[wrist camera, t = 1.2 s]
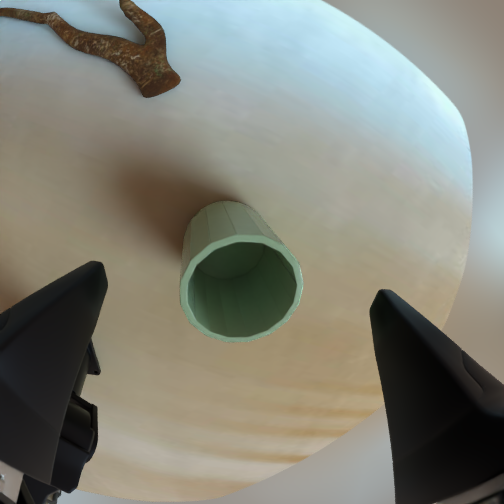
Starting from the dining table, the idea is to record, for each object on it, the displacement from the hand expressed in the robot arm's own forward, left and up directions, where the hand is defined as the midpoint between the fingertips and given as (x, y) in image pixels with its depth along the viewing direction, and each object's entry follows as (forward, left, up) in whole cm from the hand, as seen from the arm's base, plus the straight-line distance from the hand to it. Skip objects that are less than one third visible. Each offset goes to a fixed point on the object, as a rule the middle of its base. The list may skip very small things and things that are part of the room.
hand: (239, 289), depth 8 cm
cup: (-3, -1, -13) cm, 14 cm away
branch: (+14, +15, -13) cm, 24 cm away
